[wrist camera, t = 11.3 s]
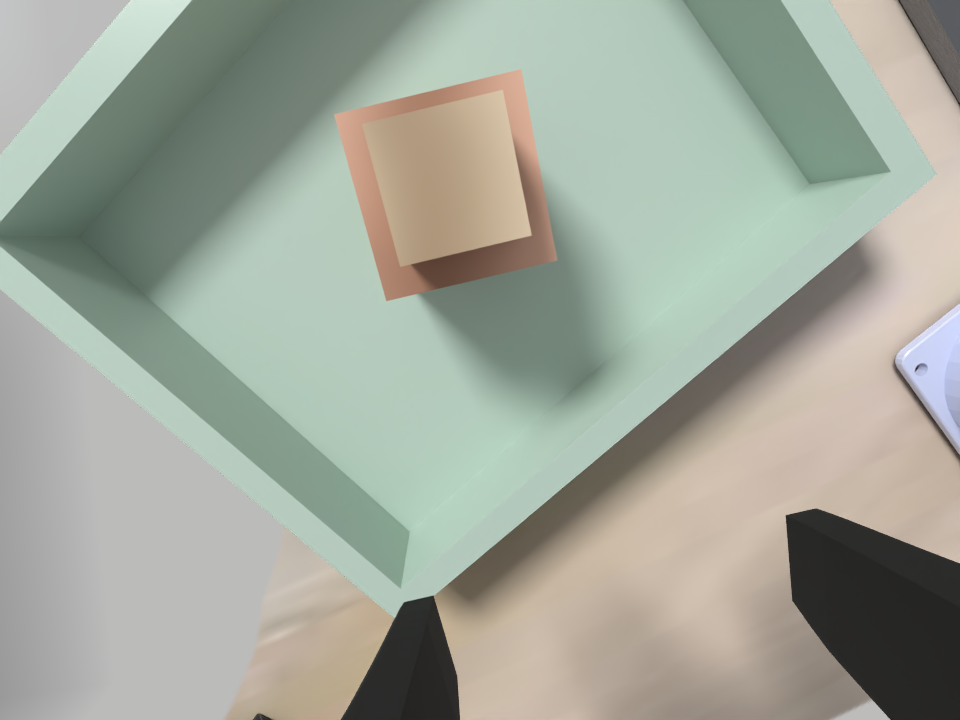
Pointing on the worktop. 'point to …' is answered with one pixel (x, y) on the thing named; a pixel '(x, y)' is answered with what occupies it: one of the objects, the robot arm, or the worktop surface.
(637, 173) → the bin
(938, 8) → the base
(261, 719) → the ammunition clip
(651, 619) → the worktop surface
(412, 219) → the square capped bottle
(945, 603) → the robot arm
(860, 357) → the worktop surface
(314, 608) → the worktop surface
